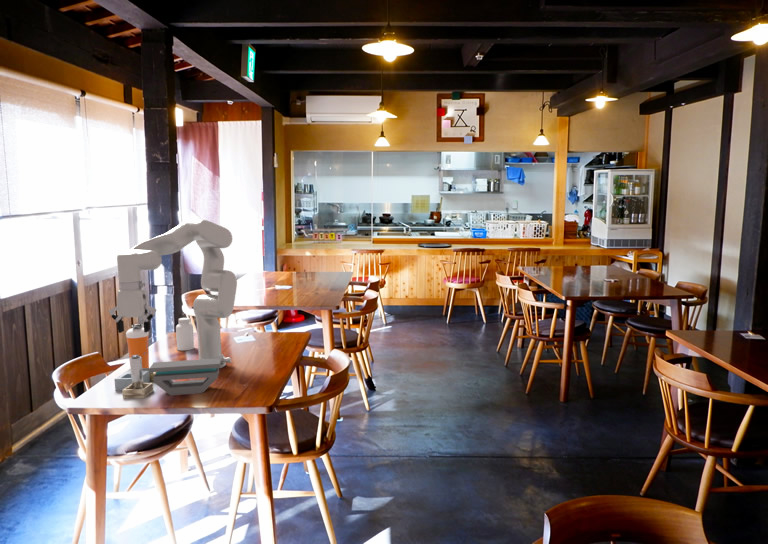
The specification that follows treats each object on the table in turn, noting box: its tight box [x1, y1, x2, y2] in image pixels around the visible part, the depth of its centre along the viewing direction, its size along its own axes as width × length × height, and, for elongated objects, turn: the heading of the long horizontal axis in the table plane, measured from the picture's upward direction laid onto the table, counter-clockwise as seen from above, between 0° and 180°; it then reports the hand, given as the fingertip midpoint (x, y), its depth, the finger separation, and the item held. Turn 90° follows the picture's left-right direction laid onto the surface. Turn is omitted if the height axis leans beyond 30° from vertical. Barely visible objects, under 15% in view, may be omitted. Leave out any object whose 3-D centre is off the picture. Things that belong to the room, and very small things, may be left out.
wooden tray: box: [121, 382, 154, 399], centre depth 221 cm, size 8×8×3 cm
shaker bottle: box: [125, 323, 150, 368], centre depth 248 cm, size 9×9×20 cm
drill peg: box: [129, 355, 144, 389], centre depth 220 cm, size 4×4×14 cm
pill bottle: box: [175, 317, 195, 352], centre depth 285 cm, size 8×8×15 cm
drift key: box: [149, 372, 156, 382], centre depth 237 cm, size 8×4×3 cm, turn 88°
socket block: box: [114, 367, 154, 391], centre depth 232 cm, size 9×14×4 cm, turn 178°
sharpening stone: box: [149, 358, 222, 396], centre depth 223 cm, size 25×8×11 cm, turn 101°
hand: (134, 331), depth 218 cm, fingers open, 9 cm apart
